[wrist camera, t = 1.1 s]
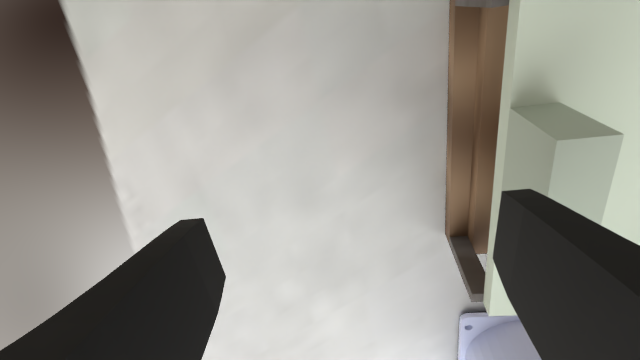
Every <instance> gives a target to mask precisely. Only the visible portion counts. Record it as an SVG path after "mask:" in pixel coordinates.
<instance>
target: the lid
mask: <svg viewBox="0 0 640 360" xmlns="http://www.w3.org/2000/svg"><path fill="white" fill-rule="evenodd" d="M520 189H532V190H534V191H537V192H539V193H541V194H543V195H545V196H547V197H549V198H551V199H553V200H555V201H556V202H558V203H560V204H562V205H564V206H566V207H568V208H570V209H571V210H573V211H575V212H577V213H579V214H581V215H583V216H584V217H586V218H588V219H590V220H592V221H594V222H596V223H598V224H599V225H601V226H603V227H605V228H607V229H609V230H611V231H613V232H615V233H616V234H618V235H620V236H622V237H624V238H626V239H628V240H630V241H632V242H634V243H636V244H638V245H640V0H509V11H508V23H507V34H506V45H505V57H504V68H503V80H502V91H501V103H500V114H499V126H498V137H497V148H496V160H495V171H494V183H493V194H492V206H491V217H490V228H489V240H488V251H487V263H486V274H485V286H484V297H483V304H484V306H485V308H486V311H487V313H488V315H489V316H515V315H517V314H516V312H515V310H514V308H513V306H512V304H511V303H510V301H509V299H508V297H507V294H506V292H505V289H504V287H503V284H502V282H501V279H500V277H499V274H498V271H497V269H496V266H495V263H494V261H493V251H494V243H495V236H496V229H497V222H498V215H499V208H500V200H501V193H502V191H508V190H520Z"/></svg>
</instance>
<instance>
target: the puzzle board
mask: <svg viewBox="0 0 640 360" xmlns="http://www.w3.org/2000/svg"><path fill="white" fill-rule="evenodd" d="M508 11H509V0H450V14H449V66H448V118H447V169H446V221H445V234H446V237H447V240H448V242H449V245H450V247H451V250H452V253H453V255H454V258H455V260H456V263H457V266H458V268H459V271H460V273H461V276H462V279H463V281H464V284H465V286H466V289H467V292H468V294H469V297H470V299H471V302H483V297H484V286H485V271H484V269H483V267H482V265H481V263H480V261H479V259H478V257H477V255H476V254H484V253H487V251H488V240H489V228H490V217H491V206H492V194H493V183H494V171H495V160H496V148H497V137H498V126H499V114H500V103H501V91H502V80H503V68H504V57H505V45H506V34H507V23H508Z"/></svg>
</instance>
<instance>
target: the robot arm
mask: <svg viewBox="0 0 640 360" xmlns="http://www.w3.org/2000/svg"><path fill="white" fill-rule="evenodd" d="M493 261H494V263H495V266H496V269H497V271H498V274H499V277H500V279H501V282H502V284H503V287H504V289H505V292H506V294H507V297H508V299H509V301H510V303H511V304H512V306H513V308H514V310H515V312H516V314H517V315H515V316H489V315H488V313H487V312H482V313H464V314H462V315H461V316H460V321H459V342H458V360H640V245H638V244H636V243H634V242H632V241H630V240H628V239H626V238H624V237H622V236H620V235H618V234H616V233H615V232H613V231H611V230H609V229H607V228H605V227H603V226H601V225H599V224H598V223H596V222H594V221H592V220H590V219H588V218H586V217H584V216H583V215H581V214H579V213H577V212H575V211H573V210H571V209H570V208H568V207H566V206H564V205H562V204H560V203H558V202H556V201H555V200H553V199H551V198H549V197H547V196H545V195H543V194H541V193H539V192H537V191H534V190H532V189H520V190H508V191H502V193H501V200H500V208H499V215H498V222H497V229H496V236H495V243H494V251H493ZM225 278H226V276H225V273H224V271H223V268H222V265H221V263H220V260H219V258H218V255H217V253H216V250H215V247H214V245H213V242H212V240H211V237H210V234H209V232H208V229H207V227H206V224H205V222H204V219H203V218H199V219H188V220H180V221H179V222H177V223H176V224H174V225H173V226H171V227H170V228H168V229H167V230H166V231H164V232H163V233H162V234H160V235H159V236H158V237H156V238H155V239H154V240H152V241H151V242H150V243H149V244H147V245H146V246H145V247H143V248H142V249H141V250H140V251H138V252H137V253H136V254H135V255H133V256H132V257H131V258H129V259H128V260H127V261H126V262H124V263H123V264H122V265H120V266H119V267H118V268H117V269H116V270H114V271H113V272H111V273H110V274H109V275H108V276H107V277H105V278H104V279H103V280H101V281H100V282H98V283H97V284H96V285H94V286H93V287H92V288H90V289H89V290H88V291H86V292H85V293H83V294H82V295H81V296H79V297H78V298H77V299H75V300H74V301H73V302H71V303H70V304H68V305H67V306H66V307H64V308H63V309H62V310H60V311H59V312H58V313H56V314H55V315H53V316H52V317H51V318H49V319H48V320H46V321H45V322H43V323H42V324H40V325H39V326H37V327H36V328H34V329H33V330H31V331H30V332H28V333H27V334H25V335H24V336H23V337H21V338H19V339H18V340H16V341H15V342H13V343H12V344H10V345H8V346H7V347H5V348H4V349H2V350H1V351H0V360H201V359H202V356H203V353H204V351H205V348H206V345H207V342H208V340H209V337H210V334H211V331H212V328H213V326H214V323H215V320H216V317H217V314H218V310H219V306H220V302H221V298H222V293H223V288H224V283H225ZM466 325H467V326H466Z"/></svg>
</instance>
